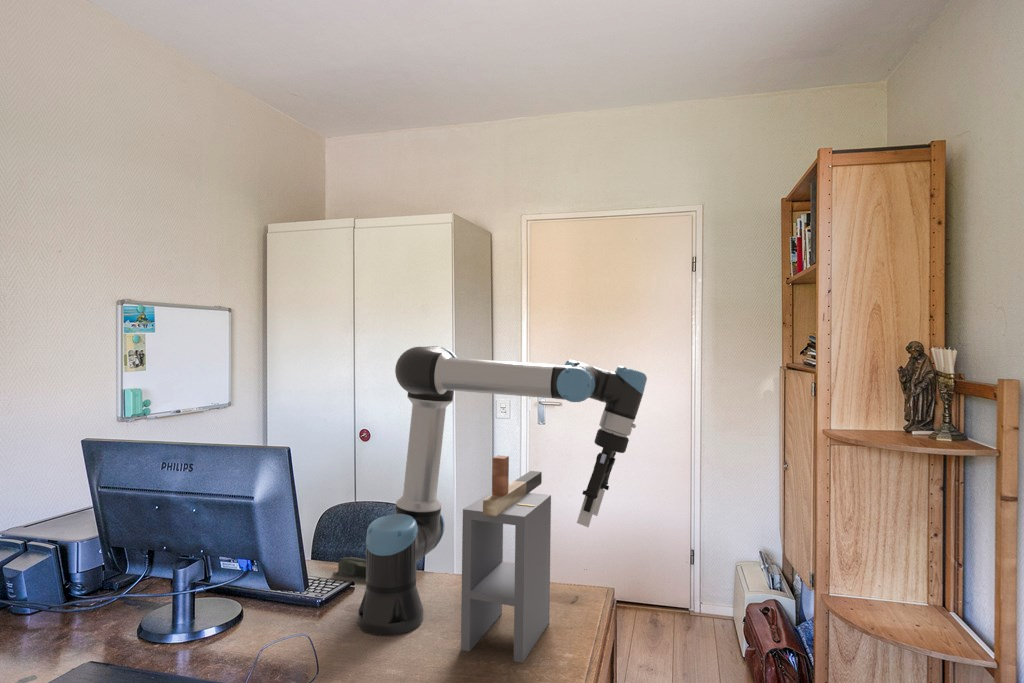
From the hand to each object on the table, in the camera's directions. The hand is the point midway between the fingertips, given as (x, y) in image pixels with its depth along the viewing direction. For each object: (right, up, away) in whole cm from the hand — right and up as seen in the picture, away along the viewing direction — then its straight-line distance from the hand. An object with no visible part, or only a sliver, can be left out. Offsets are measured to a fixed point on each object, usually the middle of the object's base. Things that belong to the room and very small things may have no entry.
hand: (587, 519), depth 139 cm
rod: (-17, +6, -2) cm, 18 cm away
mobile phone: (-61, -24, +27) cm, 70 cm away
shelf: (-19, -24, -6) cm, 31 cm away
